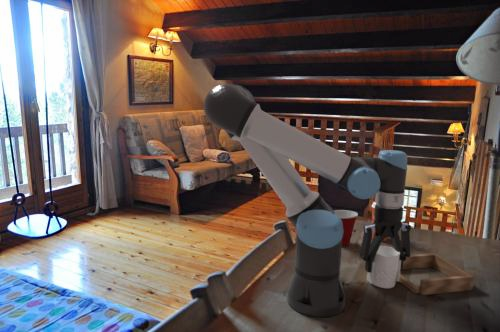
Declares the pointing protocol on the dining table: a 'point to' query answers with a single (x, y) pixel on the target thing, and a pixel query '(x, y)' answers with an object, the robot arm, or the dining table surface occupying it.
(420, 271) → the dining table surface
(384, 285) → the white cup
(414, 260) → the bay
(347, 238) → the plastic cup
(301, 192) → the robot arm
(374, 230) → the paper cup
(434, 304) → the dining table surface
